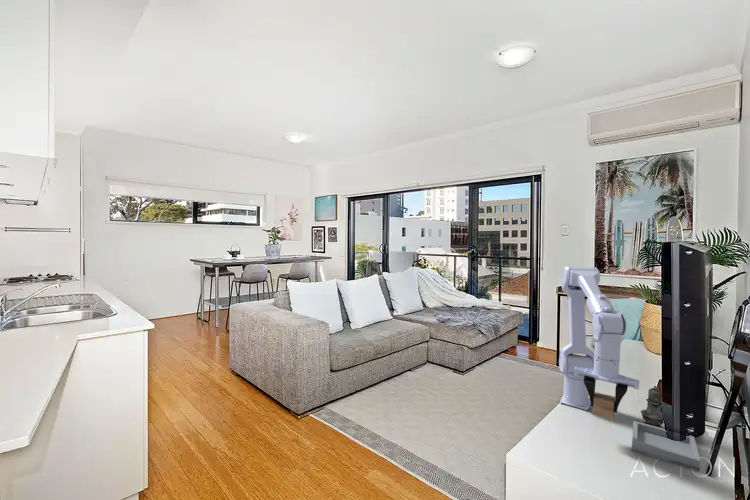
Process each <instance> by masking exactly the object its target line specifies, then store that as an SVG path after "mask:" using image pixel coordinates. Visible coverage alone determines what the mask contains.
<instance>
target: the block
mask: <svg viewBox="0 0 750 500" xmlns="http://www.w3.org/2000/svg"><path fill="white" fill-rule="evenodd" d="M614 404H615V395H614V396H613V395H610V394H605V393H602V392H596V391H595V395H594V402H593V407H592V415H594V416H597V417H602V418H605V419H609V420H614V416H615V412H614Z"/></svg>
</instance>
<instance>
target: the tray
mask: <svg viewBox="0 0 750 500" xmlns="http://www.w3.org/2000/svg"><path fill="white" fill-rule="evenodd" d="M632 424H633V425H632V438H631V439H632V440H631V441H632V442H631V452H634V453H638V454H641V455H644V456H648V457H650V458H654V459H657V460H661V461H664V462H667V463H670V464H674V465H677V466H681V467H684V468H687V469H690V470H694V471H698V472H700V471H701V469H700V468H701V458H700V455H699V451H698V446H697V442H696V438H695V436H693V435H689V434H688V435H689V436H686V440H684V441H673V440H671V439H669V438H667V436H666V432H667V431H666V430H665V429H666V428H664V427H663V428H664V429H663V428H659V427H655V426H651V425H648V424H644V423H642V422H640V421H636V420H633V423H632Z"/></svg>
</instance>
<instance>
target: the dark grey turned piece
mask: <svg viewBox="0 0 750 500" xmlns="http://www.w3.org/2000/svg"><path fill="white" fill-rule="evenodd" d="M661 396H662V392H661V390H659V389H658V388H657V386H656V385H654V386H653V387H652V388H649V389H648V393H647V398H646V399H645V400H646V402H647V407H646V409H642V410H640V413H641V416H642V419H643V421H642V422H641V423H644V424H648V425H651V426H655V427H659V428H663V429H665V428H664V427H663V426H662V425H663V424H664V423H665V422H663V418H662V414H663V413H662V412H661V406H662V405H663V402H661V398H662V397H661Z"/></svg>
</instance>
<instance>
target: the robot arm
mask: <svg viewBox="0 0 750 500" xmlns="http://www.w3.org/2000/svg"><path fill="white" fill-rule="evenodd" d="M600 273H601V272H600V270H599V269H598V268H597V267H595V266H593V267H581V266H568V265H566V266H564V267H563V269H562V270H561V290H562V292H563V293H565V294H566V295H567V303H568V304H567V306H568V307H567V308H568V311H567V312H568V339H569V340H568V344H567V345H565V346H563V347H562V348H561V349H560V351H559V357H558V358H559V359H558V365H559V366H558V367H559V371H560V372H561V374H563V375H564V377H563V392H562V393H563V395H562V396H561V398H560V401H559V403H560V404H562V403H563V402H564V403H563V404H562V405H566V406H569V407H574V408H578V409H581V410H585V411H588V410H589V409H590V407H592V408H593V402H594V395H595V393H596V383H597V382H596V381H602V382H606V383H611V384H615V395H614V397H615V404H614V413H618V408H619V405H620V403H621V401H622V400H623V398H624V396H625V395H626V393H627V392H628V388H632V389H634V390H640V379H636V378H632V377H629V376H627V375H622V374H621V373H620V360H621V343H622V341H621V340H622V336H624V335H625V334H626V333H627V332H626V331H627V320H626V317H625V315H624V313H622V312H620V311H618V310H615V308H614V306H613V304H612V302H611V301H610V299H609V297H608V296H607V295H605V294H603V293H602V291H601V289H600V287H599V284H600V281H601V274H600ZM585 297H587V299H586V301H585ZM585 302H586V303H585ZM585 304H586V306H587V308H588V310H589V312H590V315H591V317H592V320H591V325H592V332H593V333H592V334H593V335H592V336H593V339H594V351H593V350H592V349H591V348H589V347H588V346H587V338H586V337H587V336H586V335H587V333H586V309H585V308H586V306H585ZM567 396H568V397H567ZM565 398H566V399H565ZM564 399H565V400H564ZM563 400H564V401H563ZM562 401H563V402H562ZM561 402H562V403H561Z"/></svg>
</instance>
